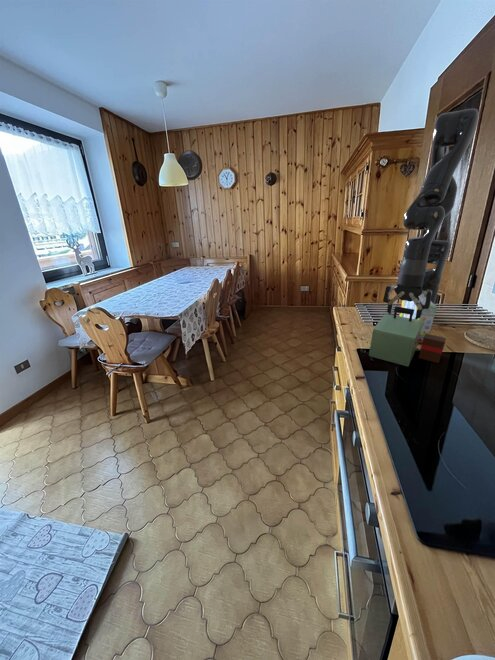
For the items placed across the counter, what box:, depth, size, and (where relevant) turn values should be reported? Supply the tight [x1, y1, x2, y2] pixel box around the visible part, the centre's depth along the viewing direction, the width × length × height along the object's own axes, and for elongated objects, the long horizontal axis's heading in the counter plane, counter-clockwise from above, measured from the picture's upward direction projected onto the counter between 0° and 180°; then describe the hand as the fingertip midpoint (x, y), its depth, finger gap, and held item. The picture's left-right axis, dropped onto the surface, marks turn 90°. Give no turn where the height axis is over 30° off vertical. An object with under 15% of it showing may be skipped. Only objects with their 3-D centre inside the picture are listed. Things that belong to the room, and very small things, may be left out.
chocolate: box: [418, 333, 447, 364], centre depth 95 cm, size 4×6×8 cm, turn 52°
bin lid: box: [372, 306, 423, 340], centre depth 96 cm, size 16×13×5 cm
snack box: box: [398, 294, 438, 344], centre depth 112 cm, size 21×6×15 cm, turn 168°
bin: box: [368, 324, 423, 368], centre depth 99 cm, size 15×13×10 cm
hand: (402, 316), depth 100 cm, fingers open, 8 cm apart
